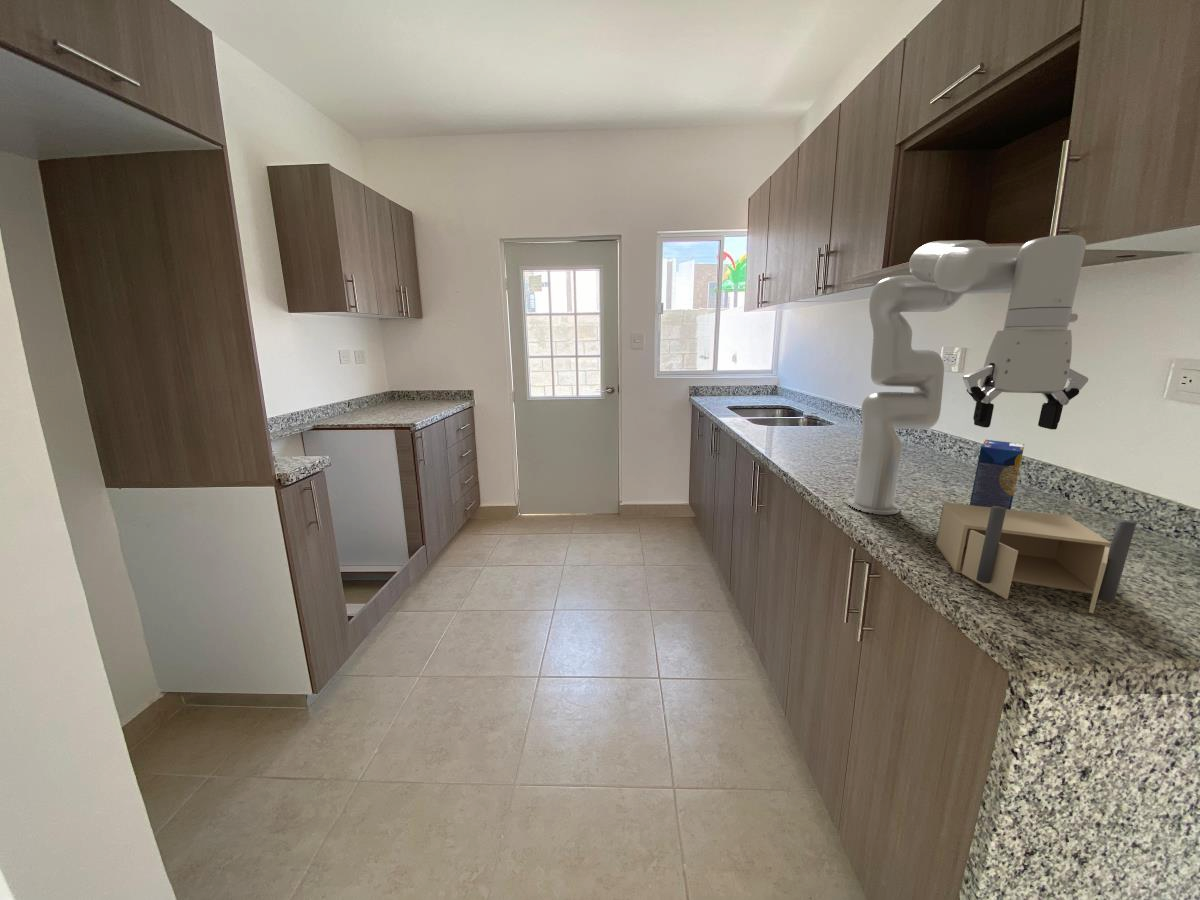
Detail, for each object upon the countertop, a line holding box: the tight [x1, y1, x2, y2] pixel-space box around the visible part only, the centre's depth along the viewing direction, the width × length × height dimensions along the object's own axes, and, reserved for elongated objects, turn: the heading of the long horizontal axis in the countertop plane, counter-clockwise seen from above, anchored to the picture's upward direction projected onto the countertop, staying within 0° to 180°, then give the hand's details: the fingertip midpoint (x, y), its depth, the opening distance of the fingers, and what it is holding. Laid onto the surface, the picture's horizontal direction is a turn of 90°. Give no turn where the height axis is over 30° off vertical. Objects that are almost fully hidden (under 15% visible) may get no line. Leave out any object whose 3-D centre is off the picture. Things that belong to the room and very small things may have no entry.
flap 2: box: [1088, 519, 1137, 614], centre depth 76 cm, size 2×9×16 cm, turn 131°
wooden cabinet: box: [935, 501, 1111, 594], centre depth 92 cm, size 14×21×10 cm, turn 67°
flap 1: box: [961, 506, 1018, 600], centre depth 83 cm, size 2×9×16 cm, turn 4°
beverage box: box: [969, 439, 1025, 510], centre depth 104 cm, size 7×11×22 cm, turn 137°
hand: (1013, 427), depth 77 cm, fingers open, 9 cm apart
